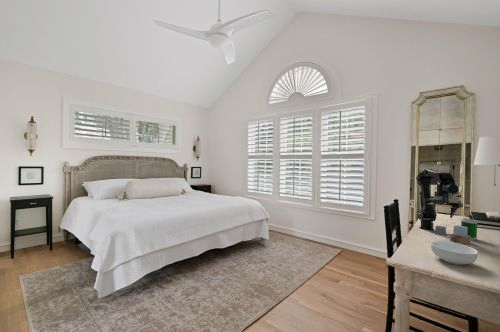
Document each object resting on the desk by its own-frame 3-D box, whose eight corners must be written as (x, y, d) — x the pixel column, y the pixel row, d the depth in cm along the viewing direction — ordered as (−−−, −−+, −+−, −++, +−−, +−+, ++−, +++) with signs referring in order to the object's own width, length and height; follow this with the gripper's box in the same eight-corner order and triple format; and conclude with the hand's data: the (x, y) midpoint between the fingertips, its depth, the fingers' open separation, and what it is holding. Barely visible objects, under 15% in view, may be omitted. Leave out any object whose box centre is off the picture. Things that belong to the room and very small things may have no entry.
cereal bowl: (427, 260, 114) (428, 245, 114) (433, 252, 126) (434, 238, 126) (476, 273, 102) (477, 256, 102) (478, 262, 114) (478, 247, 114)
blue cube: (453, 234, 145) (453, 226, 145) (457, 233, 148) (457, 225, 148) (463, 236, 141) (464, 228, 141) (467, 235, 143) (467, 227, 143)
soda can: (477, 241, 146) (478, 221, 146) (461, 238, 150) (461, 219, 150) (475, 238, 152) (476, 219, 152) (460, 235, 156) (460, 217, 156)
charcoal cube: (435, 234, 159) (435, 226, 159) (436, 232, 163) (436, 225, 163) (444, 235, 156) (445, 228, 156) (445, 234, 159) (446, 226, 159)
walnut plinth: (450, 240, 146) (450, 234, 146) (455, 239, 149) (455, 232, 149) (465, 244, 140) (465, 237, 140) (470, 242, 143) (470, 235, 143)
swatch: (443, 236, 154) (443, 235, 154) (447, 235, 156) (447, 234, 156) (453, 238, 150) (453, 238, 150) (456, 237, 152) (456, 237, 152)
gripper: (420, 190, 157) (419, 214, 158) (455, 194, 141) (454, 221, 141) (429, 190, 163) (428, 213, 163) (463, 193, 146) (462, 219, 147)
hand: (442, 216), depth 153 cm, fingers open, 9 cm apart
